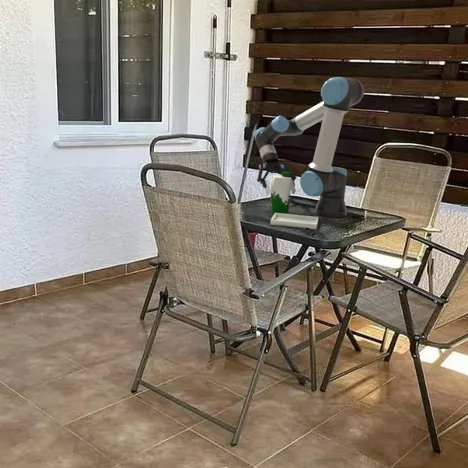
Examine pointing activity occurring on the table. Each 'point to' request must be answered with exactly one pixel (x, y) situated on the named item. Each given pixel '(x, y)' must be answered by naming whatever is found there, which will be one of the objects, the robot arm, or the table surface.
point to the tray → (294, 221)
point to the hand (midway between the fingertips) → (281, 192)
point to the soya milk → (280, 193)
